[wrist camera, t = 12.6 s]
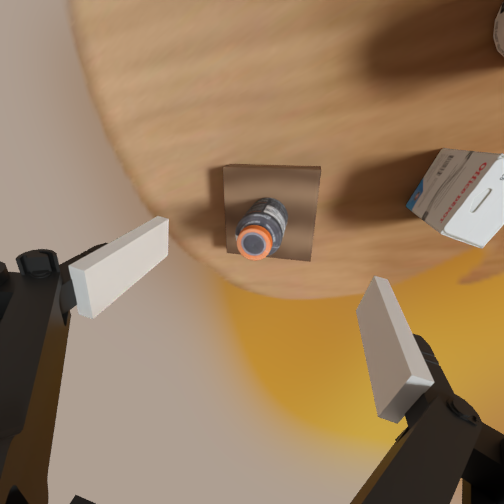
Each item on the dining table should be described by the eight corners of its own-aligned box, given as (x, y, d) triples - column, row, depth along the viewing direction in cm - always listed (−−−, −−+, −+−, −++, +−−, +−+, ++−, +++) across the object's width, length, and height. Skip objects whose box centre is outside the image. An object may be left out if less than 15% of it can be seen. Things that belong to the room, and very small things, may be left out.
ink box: (435, 218, 36) (483, 251, 26) (403, 205, 37) (438, 234, 26) (478, 159, 32) (555, 171, 22) (441, 146, 33) (501, 152, 22)
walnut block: (230, 163, 40) (222, 166, 36) (320, 166, 37) (321, 169, 33) (233, 243, 46) (226, 252, 42) (310, 251, 43) (310, 261, 39)
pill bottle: (250, 233, 40) (229, 266, 30) (249, 196, 37) (225, 219, 27) (288, 235, 38) (279, 270, 28) (288, 196, 36) (279, 220, 26)
